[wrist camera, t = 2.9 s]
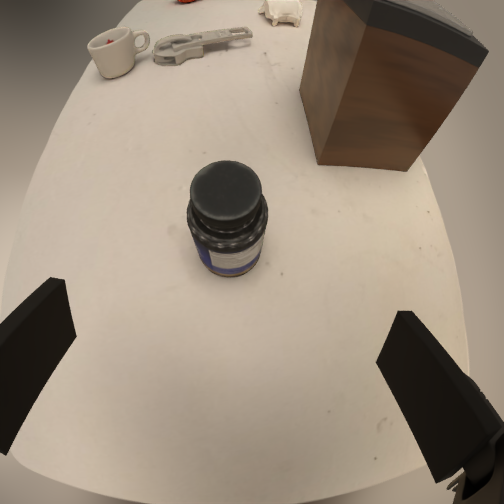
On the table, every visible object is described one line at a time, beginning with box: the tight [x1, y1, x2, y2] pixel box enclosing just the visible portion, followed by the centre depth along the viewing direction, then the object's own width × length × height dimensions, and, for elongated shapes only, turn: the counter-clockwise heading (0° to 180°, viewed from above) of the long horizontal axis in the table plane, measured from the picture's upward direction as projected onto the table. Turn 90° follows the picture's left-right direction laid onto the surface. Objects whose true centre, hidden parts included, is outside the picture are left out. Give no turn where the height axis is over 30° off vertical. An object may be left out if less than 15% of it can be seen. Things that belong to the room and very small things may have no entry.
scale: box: [343, 0, 489, 68], centre depth 16 cm, size 15×13×3 cm
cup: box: [87, 27, 150, 78], centre depth 36 cm, size 11×8×8 cm
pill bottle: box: [187, 161, 268, 277], centre depth 23 cm, size 6×6×11 cm
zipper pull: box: [152, 27, 252, 66], centre depth 40 cm, size 8×18×4 cm, turn 109°
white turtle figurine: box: [258, 0, 302, 27], centre depth 46 cm, size 9×8×15 cm
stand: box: [299, 0, 479, 172], centre depth 27 cm, size 15×13×19 cm
